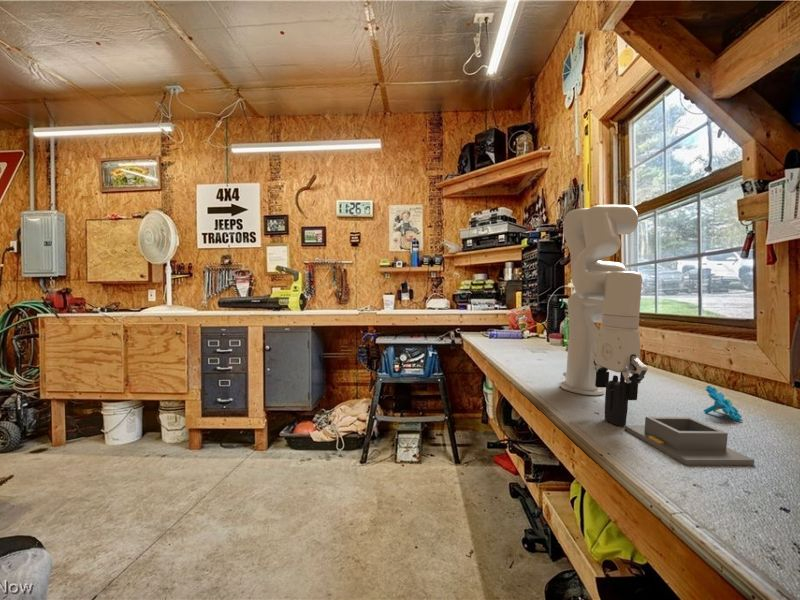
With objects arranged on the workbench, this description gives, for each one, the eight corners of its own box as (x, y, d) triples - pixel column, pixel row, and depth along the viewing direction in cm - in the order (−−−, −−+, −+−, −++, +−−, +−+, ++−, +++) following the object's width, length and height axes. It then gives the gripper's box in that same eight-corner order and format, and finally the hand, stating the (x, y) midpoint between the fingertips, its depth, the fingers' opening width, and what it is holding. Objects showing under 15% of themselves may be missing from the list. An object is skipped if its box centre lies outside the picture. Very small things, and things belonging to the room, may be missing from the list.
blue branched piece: (737, 419, 87) (705, 383, 93) (713, 430, 90) (684, 394, 97) (750, 418, 93) (719, 384, 99) (727, 428, 96) (698, 395, 103)
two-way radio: (629, 427, 83) (634, 364, 83) (613, 427, 83) (617, 364, 82) (612, 418, 89) (616, 359, 88) (596, 418, 88) (600, 359, 87)
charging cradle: (624, 429, 82) (625, 410, 82) (680, 430, 83) (681, 411, 83) (685, 465, 66) (687, 441, 66) (754, 465, 67) (756, 441, 67)
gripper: (583, 318, 93) (579, 382, 94) (631, 326, 76) (626, 405, 76) (610, 319, 93) (605, 383, 94) (664, 328, 76) (658, 405, 77)
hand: (614, 393), depth 85 cm, fingers open, 9 cm apart
